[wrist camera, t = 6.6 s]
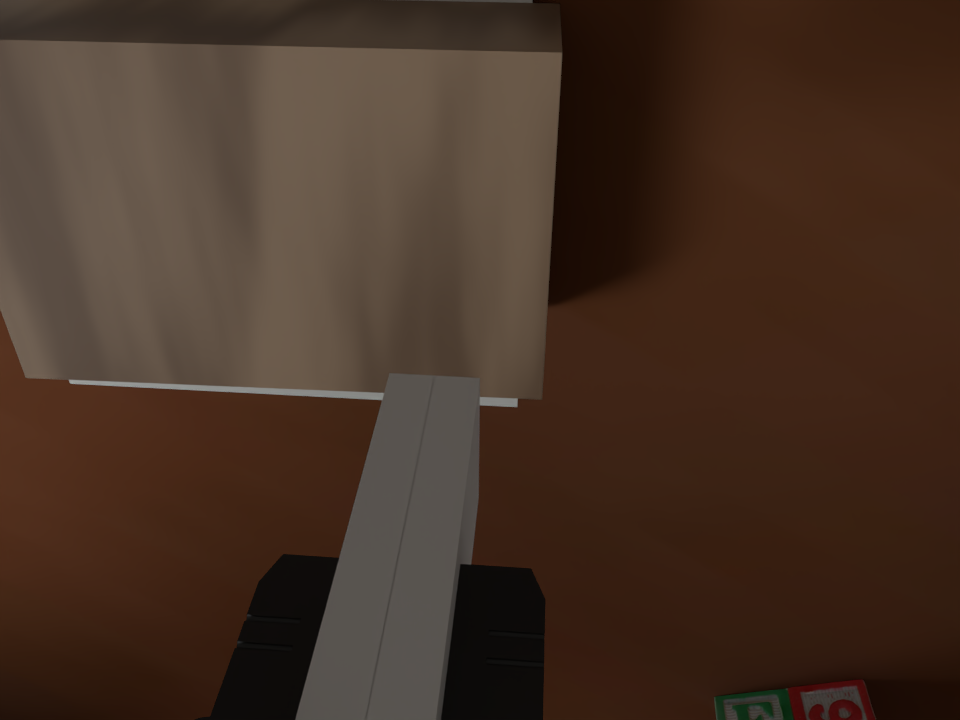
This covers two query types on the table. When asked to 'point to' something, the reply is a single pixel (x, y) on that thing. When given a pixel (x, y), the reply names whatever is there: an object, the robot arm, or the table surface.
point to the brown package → (278, 190)
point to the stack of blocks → (799, 703)
